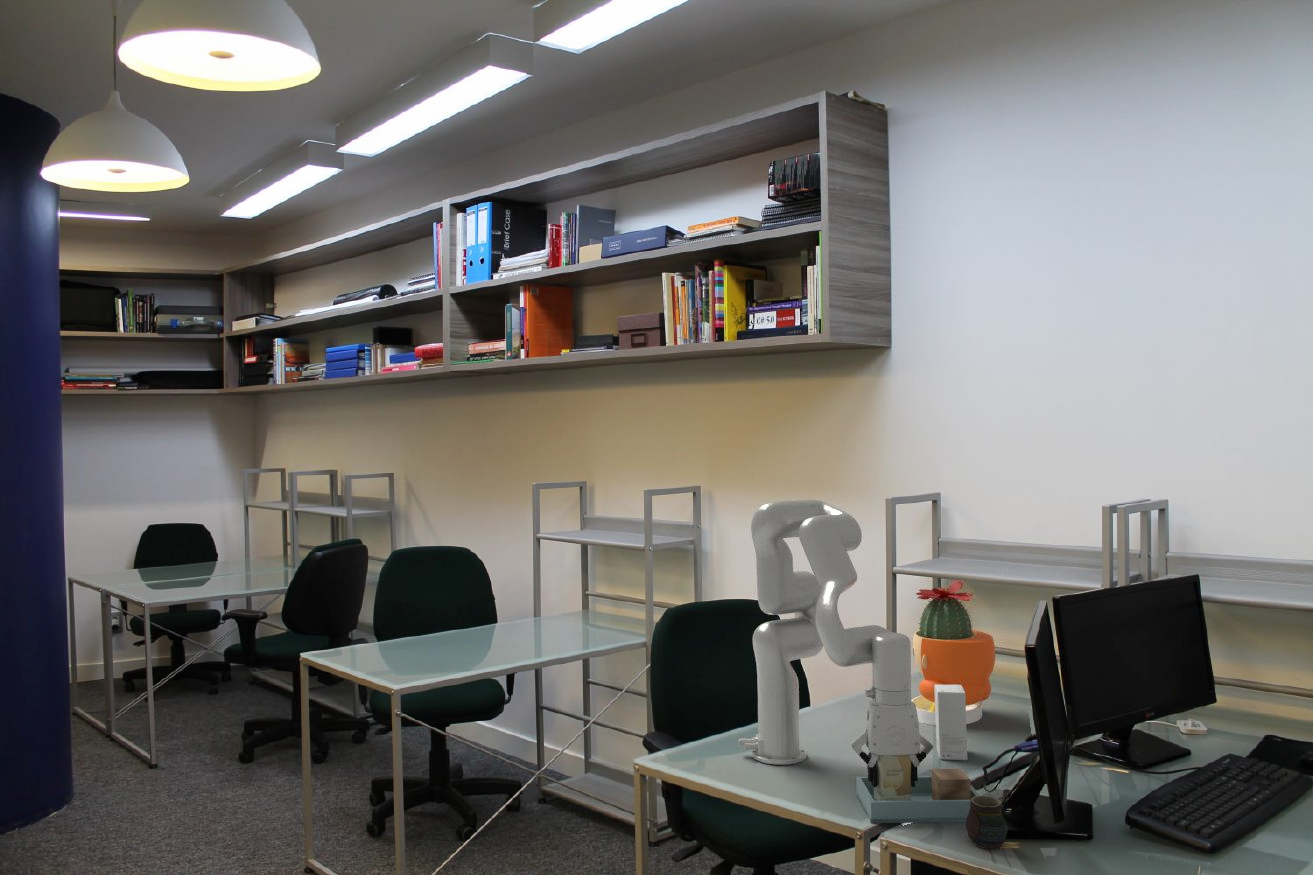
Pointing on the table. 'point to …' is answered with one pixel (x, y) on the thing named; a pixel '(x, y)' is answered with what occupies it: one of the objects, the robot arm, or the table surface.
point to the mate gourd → (986, 822)
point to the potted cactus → (951, 653)
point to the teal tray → (912, 805)
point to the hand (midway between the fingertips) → (892, 783)
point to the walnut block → (950, 785)
